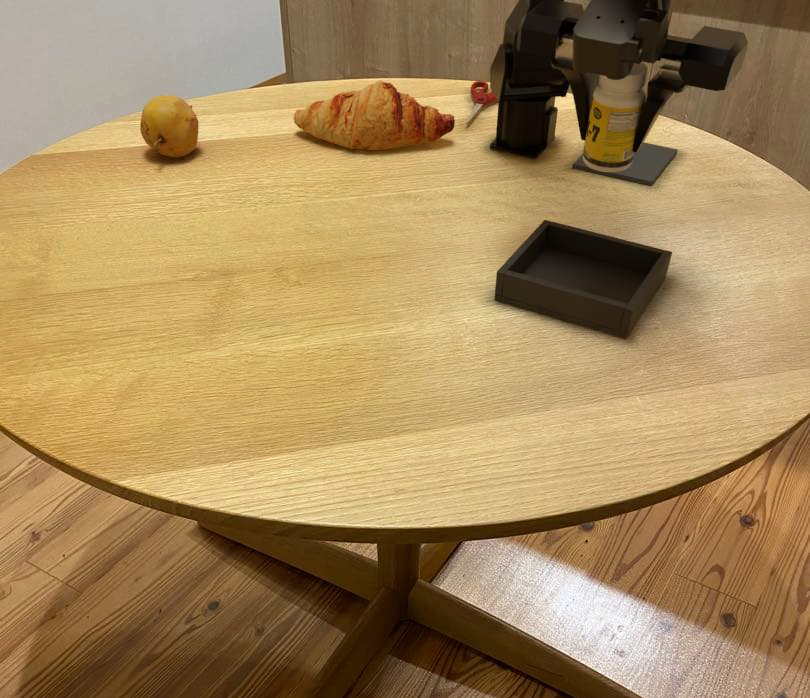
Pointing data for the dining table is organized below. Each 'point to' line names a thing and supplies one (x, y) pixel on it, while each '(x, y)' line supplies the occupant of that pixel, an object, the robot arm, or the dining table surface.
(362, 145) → the croissant
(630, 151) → the supplement bottle
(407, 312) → the dining table surface
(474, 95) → the scissors
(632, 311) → the tray
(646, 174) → the mat
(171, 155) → the fruit
